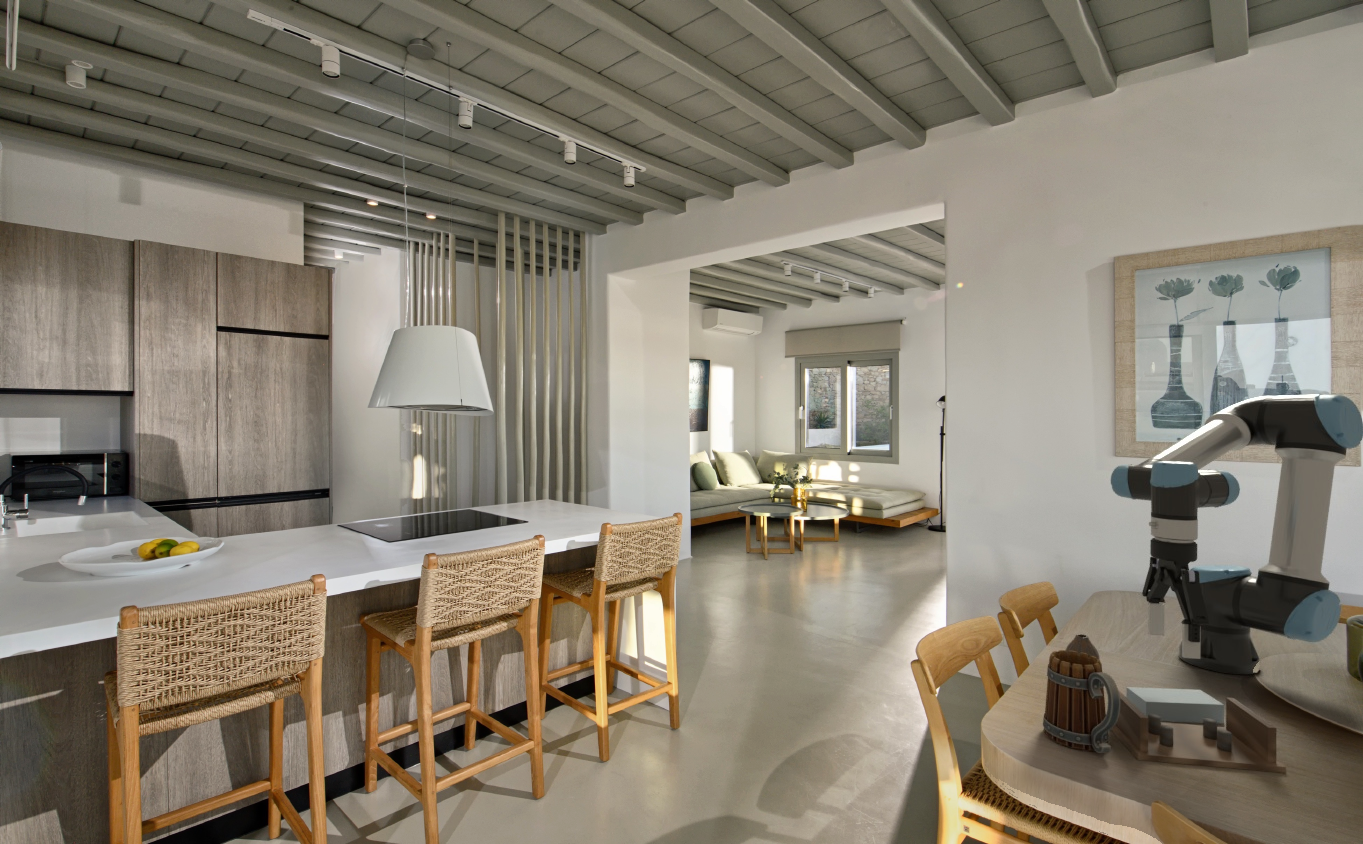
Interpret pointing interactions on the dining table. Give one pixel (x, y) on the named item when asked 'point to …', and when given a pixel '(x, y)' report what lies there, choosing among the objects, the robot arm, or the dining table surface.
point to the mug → (1079, 702)
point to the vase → (1083, 646)
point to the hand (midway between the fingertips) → (1172, 645)
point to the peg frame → (1201, 739)
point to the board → (1176, 704)
